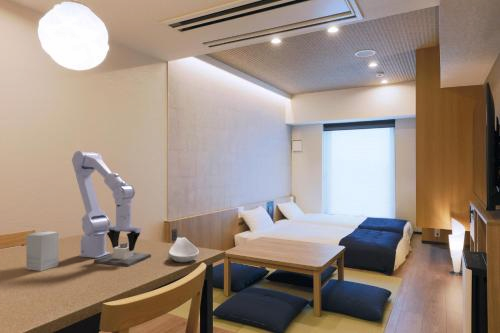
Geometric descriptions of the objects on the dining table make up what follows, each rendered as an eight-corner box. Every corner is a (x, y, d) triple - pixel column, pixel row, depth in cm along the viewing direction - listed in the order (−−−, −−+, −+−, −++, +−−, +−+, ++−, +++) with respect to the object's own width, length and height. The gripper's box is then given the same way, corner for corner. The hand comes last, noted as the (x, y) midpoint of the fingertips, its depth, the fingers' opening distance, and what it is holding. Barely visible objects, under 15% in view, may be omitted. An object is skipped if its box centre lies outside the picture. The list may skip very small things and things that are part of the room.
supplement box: (59, 265, 123) (59, 231, 123) (40, 271, 116) (40, 235, 116) (44, 263, 125) (44, 230, 126) (25, 269, 118) (25, 234, 119)
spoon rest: (201, 263, 127) (201, 245, 127) (170, 266, 123) (170, 247, 123) (191, 249, 150) (192, 233, 150) (165, 251, 146) (165, 235, 146)
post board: (94, 262, 127) (94, 245, 127) (118, 253, 141) (118, 238, 141) (129, 266, 123) (129, 248, 123) (151, 256, 136) (151, 240, 136)
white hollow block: (112, 258, 130) (112, 248, 130) (122, 254, 135) (122, 245, 135) (124, 259, 128) (124, 249, 128) (133, 255, 133) (133, 246, 133)
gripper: (101, 216, 130) (101, 250, 130) (132, 217, 126) (132, 253, 126) (113, 213, 137) (113, 246, 137) (143, 215, 133) (143, 249, 132)
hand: (123, 249), depth 132 cm, fingers open, 7 cm apart
